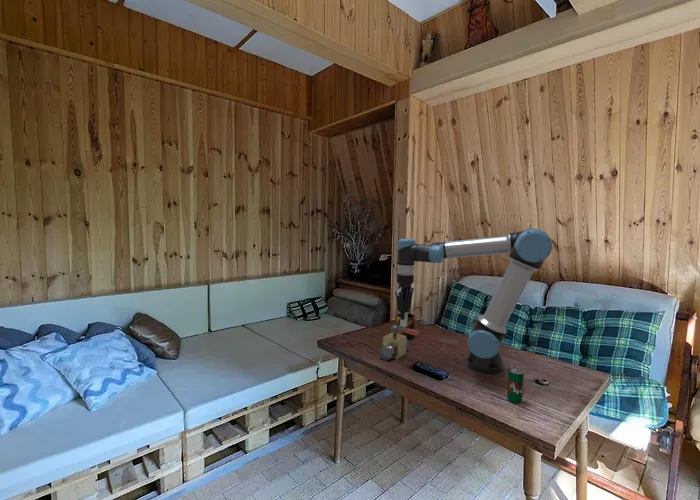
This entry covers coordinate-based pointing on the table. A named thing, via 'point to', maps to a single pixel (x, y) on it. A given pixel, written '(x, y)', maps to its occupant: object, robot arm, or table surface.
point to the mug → (409, 325)
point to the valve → (393, 346)
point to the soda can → (515, 384)
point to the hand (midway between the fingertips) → (403, 326)
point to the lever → (403, 330)
